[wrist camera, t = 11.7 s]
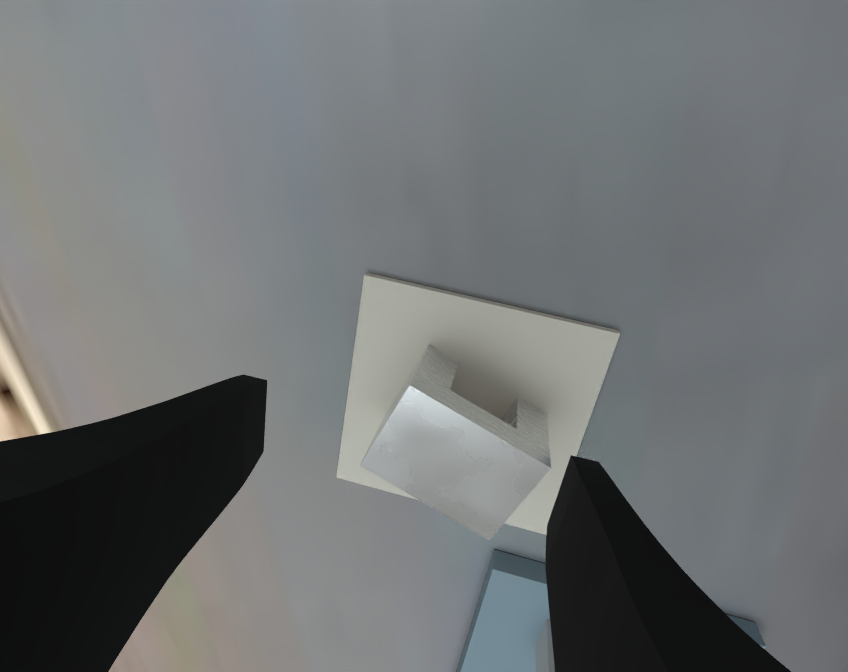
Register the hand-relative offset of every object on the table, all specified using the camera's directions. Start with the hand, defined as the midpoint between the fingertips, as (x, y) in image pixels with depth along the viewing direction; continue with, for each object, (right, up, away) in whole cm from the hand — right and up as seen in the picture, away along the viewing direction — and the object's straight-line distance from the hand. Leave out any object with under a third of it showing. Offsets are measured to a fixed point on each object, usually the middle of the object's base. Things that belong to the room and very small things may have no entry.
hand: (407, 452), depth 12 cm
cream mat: (+2, 0, +10) cm, 10 cm away
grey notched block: (+2, -1, +10) cm, 10 cm away
